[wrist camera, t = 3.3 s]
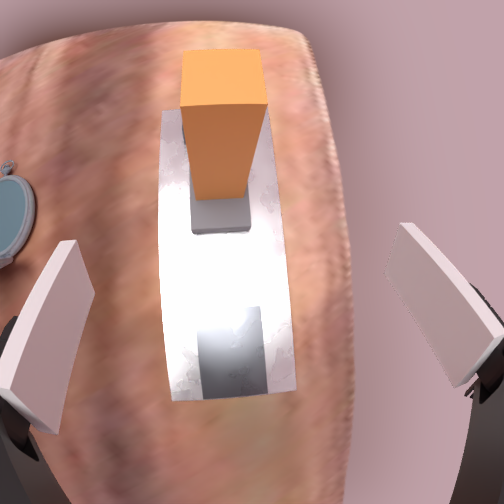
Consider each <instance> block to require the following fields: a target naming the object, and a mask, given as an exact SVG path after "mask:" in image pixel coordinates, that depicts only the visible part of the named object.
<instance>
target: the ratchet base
mask: <svg viewBox="0 0 504 504" xmlns="http://www.w3.org/2000/svg"><path fill="white" fill-rule="evenodd" d="M248 190H249V201H250V213H251V225H252V226H251V229H250V230H245V231H228V232H211V233H195V234H192V232H191V221H190V182H189V159H188V153H187V147H186V141H185V135H184V129H183V122H182V116H181V109H175V110H164V111H162V123H161V139H160V160H159V262H160V284H161V301H162V315H163V327H164V339H165V349H166V358H167V367H168V376H169V383H170V391H171V398H172V401H192V400H211V399H226V398H237V397H248V396H257V395H266V394H273V393H281V392H288V391H294V390H297V388H296V373H295V359H294V345H293V333H292V320H291V309H290V297H289V286H288V276H287V265H286V255H285V245H284V236H283V226H282V217H281V208H280V200H279V191H278V183H277V174H276V166H275V158H274V151H273V143H272V135H271V128H270V121H269V113H268V106H267V109H266V112H265V116H264V120H263V124H262V127H261V131H260V135H259V139H258V143H257V146H256V150H255V154H254V158H253V162H252V166H251V170H250V173H249V177H248Z"/></svg>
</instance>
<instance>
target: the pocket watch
mask: <svg viewBox="0 0 504 504" xmlns="http://www.w3.org/2000/svg"><path fill="white" fill-rule="evenodd" d="M7 162H13V165H12V167H10V166H9V165H5V166H4V169H2V166H3V165H4V164H6V163H7ZM4 164H3V165H2V166H1V168H0V171H1V172H2V174H4V176H3V177H2V178H0V268H2V267H4V266H6V265H8V264H10V263H12V262H13V257H12V256H14V255H15V254H16V253H17V252H18V251H19V250H20V249H21V248H22V246H23V245H24V243H25V242H26V240H27V238H28V236H29V234H30V231H31V228H32V225H33V221H34V215H35V200H34V195H33V192H32V189H31V187H30V185H29V183H28V182H27V181H26V180H25V179H23V178H22V177H20V176H17V175H8V176H7V174H8V173H9V172H10V171H11V169H12V168H13V166H14V161H12V160H9V161H6V162H5V163H4ZM1 169H2V170H1Z"/></svg>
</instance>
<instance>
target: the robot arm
mask: <svg viewBox="0 0 504 504" xmlns="http://www.w3.org/2000/svg"><path fill="white" fill-rule="evenodd" d="M384 275H385V276H386V278H387V279H388V281H389V282H390V284H391V285H392V287H393V288H394V289H395V291H396V292H397V294H398V296H399V297H400V299H401V300H402V302H403V303H404V305H405V306H406V308H407V309H408V311H409V313H410V314H411V315H412V317H413V319H414V320H415V322H416V324H417V325H418V327H419V328H420V330H421V332H422V333H423V335H424V337H425V338H426V340H427V342H428V343H429V345H430V347H431V348H432V350H433V352H434V353H435V355H436V357H437V359H438V361H439V362H440V364H441V366H442V367H443V369H444V371H445V373H446V375H447V376H448V378H449V380H450V382H451V384H452V386H453V388H456V387H458V386H461V385H463V384H465V383H467V382H468V381H469V380H470V379H471V378H472V377H473V375H474V374H475V373H477V375H478V377H479V378H478V379H477V380H476V381H475V382H474V383H473V384H472V385H471V387H470V388H469V389H468V390H467V391H466V393H465V395H464V396H466V397H467V395H469V394H470V393H471V391H472V390H474V393H473V394H472V395H471V396H470V398H472V399H473V403H472V410H471V417H470V423H469V429H468V434H467V440H466V445H465V449H464V453H463V458H462V462H461V466H460V470H459V473H458V477H457V481H456V484H455V487H454V491H453V494H452V497H451V500H450V503H449V504H504V322H503V321H502V320H501V318H500V317H499V316H498V314H497V313H496V312H495V310H494V309H493V308H492V307H490V304H489V303H488V302H487V300H485V298H484V297H483V295H482V294H481V293H480V292H479V291H478V289H477V288H475V287H474V286H473V285H471V284H470V283H469V282H467V280H466V279H465V278H464V277H463V276H462V275H461V273H460V272H459V271H458V270H457V269H456V268H455V267H454V266H453V264H452V263H451V262H450V261H449V260H448V259H447V258H446V257H445V256H444V254H442V252H441V251H440V250H439V249H438V248H437V247H436V246H435V245H434V244H433V243H432V242H431V241H430V240H429V239H428V237H427V236H426V235H425V234H424V233H423V232H422V231H421V230H419V228H418V227H417V226H416V225H414V223H399V227H398V230H397V234H396V237H395V240H394V243H393V247H392V250H391V253H390V256H389V259H388V262H387V265H386V269H385V272H384ZM94 295H95V292H94V289H93V287H92V284H91V281H90V279H89V276H88V273H87V270H86V267H85V264H84V262H83V259H82V256H81V252H80V249H79V246H78V243H77V240H68V241H60V243H59V244H58V246H57V248H56V249H55V251H54V252H53V254H52V256H51V257H50V259H49V261H48V262H47V264H46V266H45V268H44V269H43V271H42V273H41V275H40V276H39V278H38V280H37V282H36V284H35V285H34V287H33V289H32V291H31V293H30V295H29V297H28V299H27V301H26V303H25V305H24V307H23V309H22V311H21V313H20V315H19V316H14V317H13V318H12V319H11V320H10V321H9V323H8V324H7V325H6V326H5V328H4V330H3V332H2V334H1V336H0V504H71V502H70V501H69V499H68V498H67V496H66V495H65V493H64V492H63V490H62V488H61V487H60V485H59V484H58V482H57V480H56V478H55V477H54V475H53V473H52V472H51V470H50V468H49V466H48V464H47V463H46V461H45V459H44V457H43V455H42V453H41V451H40V449H39V447H38V445H37V443H36V441H35V439H34V437H33V435H32V434H31V433H30V431H29V427H30V424H31V425H33V426H34V427H35V428H36V429H37V430H39V431H40V432H45V433H50V434H55V435H58V433H59V427H60V422H61V416H62V411H63V406H64V401H65V397H66V392H67V388H68V384H69V379H70V375H71V371H72V367H73V363H74V360H75V356H76V352H77V349H78V345H79V342H80V338H81V335H82V332H83V328H84V325H85V322H86V319H87V316H88V313H89V310H90V307H91V304H92V301H93V298H94Z"/></svg>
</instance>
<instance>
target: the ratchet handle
mask: <svg viewBox="0 0 504 504" xmlns="http://www.w3.org/2000/svg"><path fill="white" fill-rule="evenodd" d="M267 105H268V102H267V95H266V88H265V82H264V75H263V69H262V62H261V56H260V50H259V49H211V50H191V51H184V52H183V66H182V81H181V99H180V109H181V116H182V122H183V129H184V135H185V141H186V147H187V153H188V159H189V182H190V221H191V232H192V234H195V233H211V232H228V231H245V230H250V229H251V226H252V225H251V213H250V201H249V190H248V177H249V173H250V170H251V166H252V162H253V158H254V154H255V150H256V146H257V143H258V139H259V135H260V131H261V127H262V124H263V120H264V116H265V112H266V109H267Z"/></svg>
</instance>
